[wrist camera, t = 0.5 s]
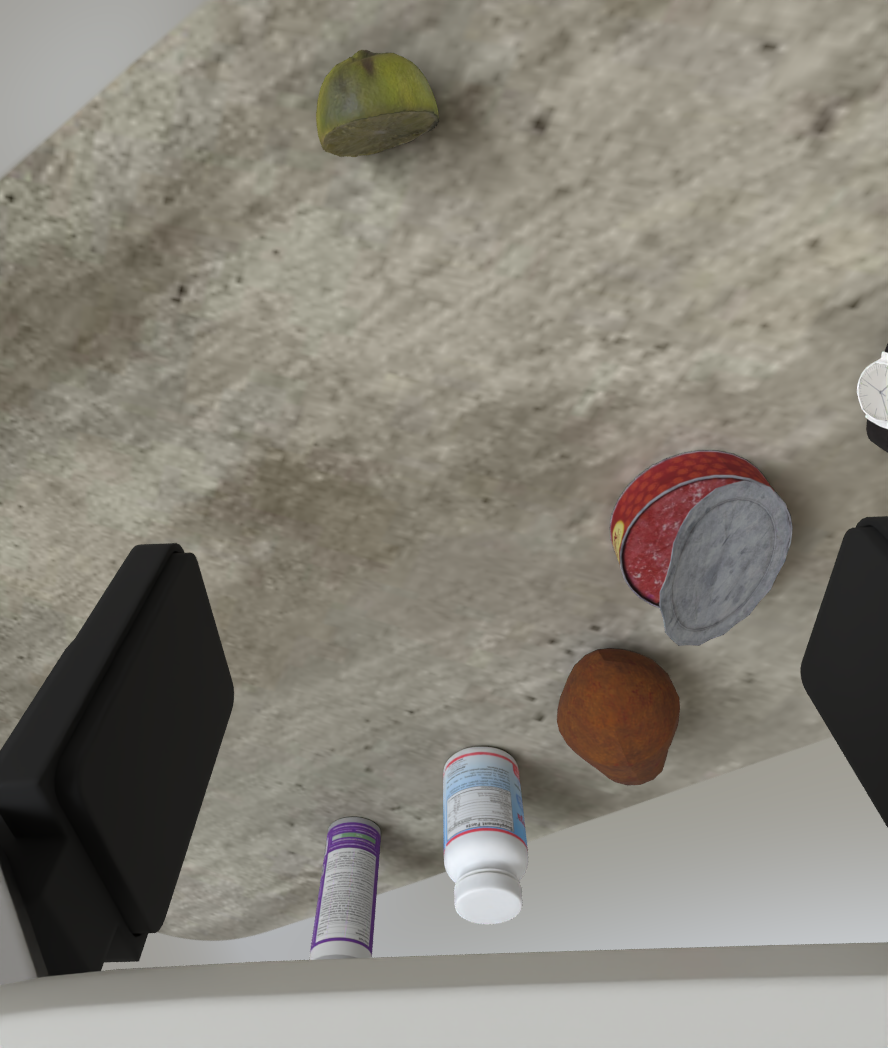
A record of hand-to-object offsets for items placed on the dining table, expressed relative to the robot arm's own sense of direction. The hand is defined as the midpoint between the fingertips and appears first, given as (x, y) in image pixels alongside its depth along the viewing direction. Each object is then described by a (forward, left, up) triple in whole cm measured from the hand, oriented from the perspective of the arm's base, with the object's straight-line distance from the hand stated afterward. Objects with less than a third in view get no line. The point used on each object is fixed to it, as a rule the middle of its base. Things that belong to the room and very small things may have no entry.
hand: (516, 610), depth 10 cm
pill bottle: (+36, -20, -28) cm, 50 cm away
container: (+38, -34, -28) cm, 58 cm away
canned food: (+22, +3, -28) cm, 36 cm away
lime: (-6, -1, -28) cm, 29 cm away
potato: (+32, -7, -28) cm, 43 cm away
